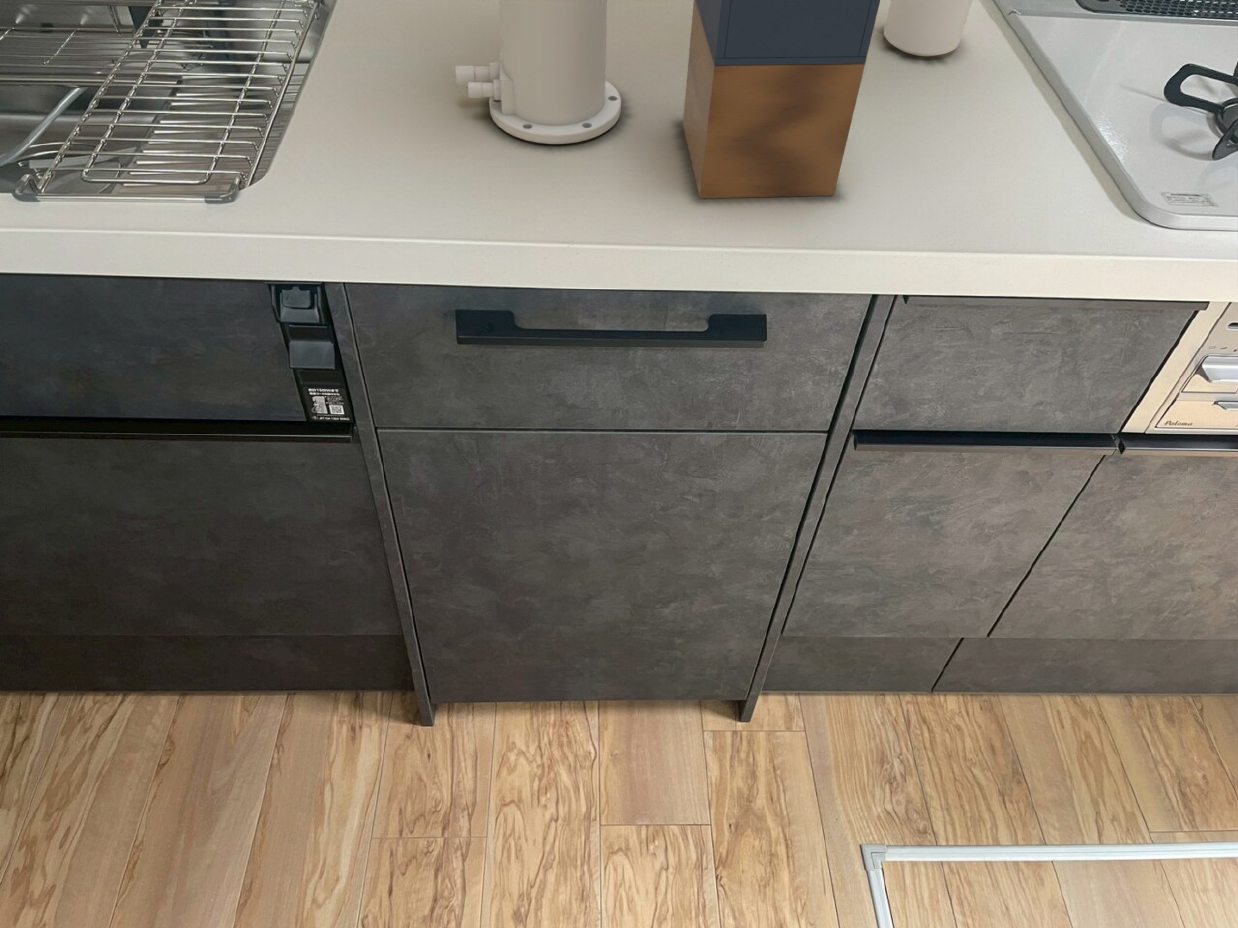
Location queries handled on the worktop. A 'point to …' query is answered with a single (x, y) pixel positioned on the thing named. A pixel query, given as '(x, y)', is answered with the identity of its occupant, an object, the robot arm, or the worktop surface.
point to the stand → (766, 124)
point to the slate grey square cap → (788, 31)
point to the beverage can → (926, 25)
